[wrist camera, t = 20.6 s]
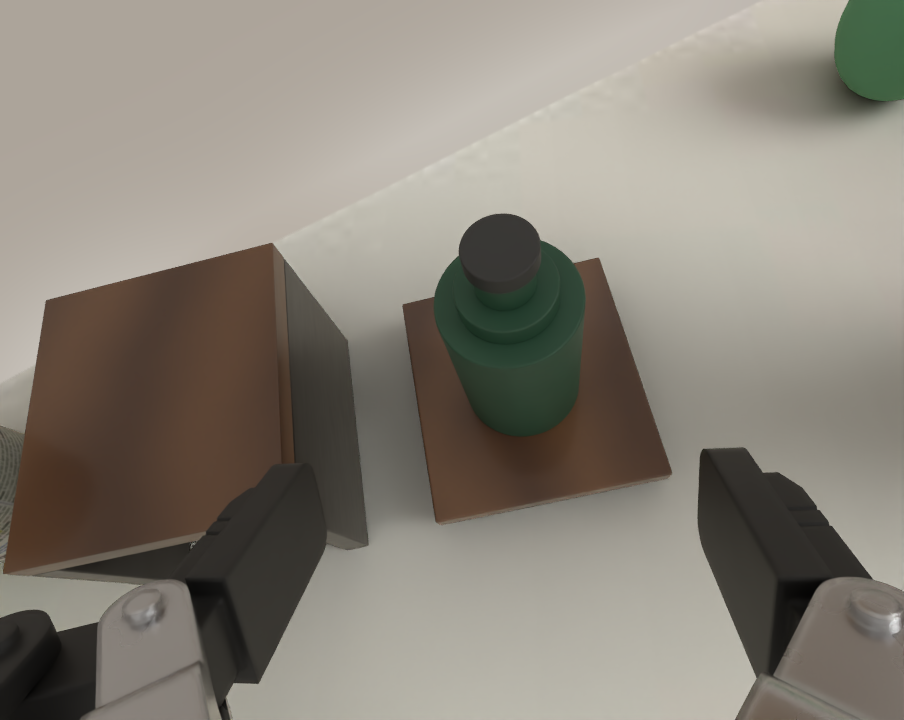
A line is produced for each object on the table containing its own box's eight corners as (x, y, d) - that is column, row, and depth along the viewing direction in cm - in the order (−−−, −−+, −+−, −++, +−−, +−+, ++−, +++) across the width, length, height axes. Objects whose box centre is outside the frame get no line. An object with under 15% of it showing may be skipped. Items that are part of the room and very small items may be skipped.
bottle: (563, 321, 30) (564, 158, 19) (592, 423, 27) (612, 300, 17) (457, 346, 30) (402, 199, 20) (477, 447, 28) (426, 343, 17)
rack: (596, 281, 33) (609, 156, 24) (664, 485, 28) (712, 423, 19) (176, 380, 35) (45, 299, 26) (168, 587, 30) (1, 574, 21)
